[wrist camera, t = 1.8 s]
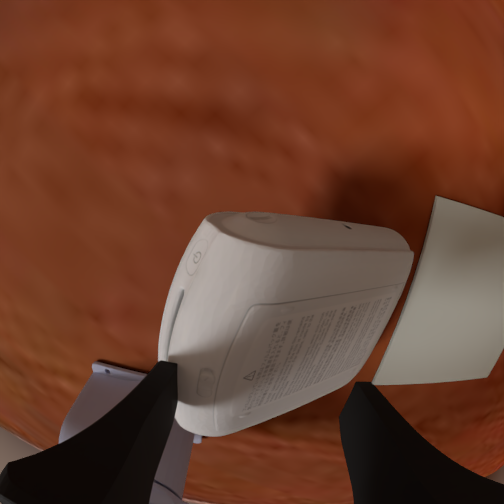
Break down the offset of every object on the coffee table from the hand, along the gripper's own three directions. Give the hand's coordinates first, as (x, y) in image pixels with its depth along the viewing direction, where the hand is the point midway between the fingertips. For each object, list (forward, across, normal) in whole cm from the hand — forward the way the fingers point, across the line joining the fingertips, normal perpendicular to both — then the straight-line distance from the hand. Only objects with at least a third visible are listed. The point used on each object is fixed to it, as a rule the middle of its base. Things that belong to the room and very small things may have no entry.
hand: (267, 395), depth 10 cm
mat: (+9, -17, 0) cm, 19 cm away
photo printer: (+8, -6, 0) cm, 10 cm away
